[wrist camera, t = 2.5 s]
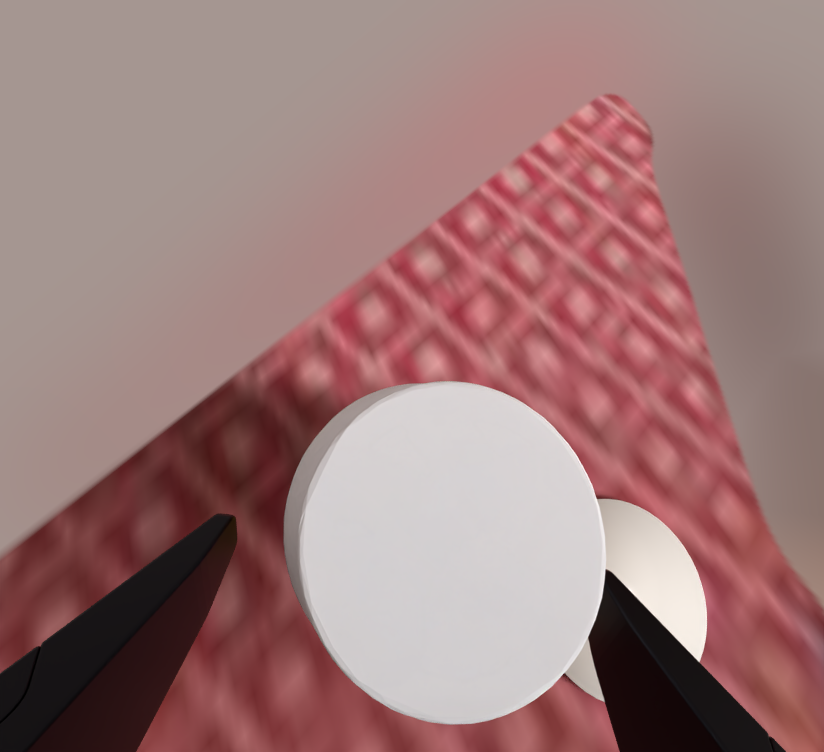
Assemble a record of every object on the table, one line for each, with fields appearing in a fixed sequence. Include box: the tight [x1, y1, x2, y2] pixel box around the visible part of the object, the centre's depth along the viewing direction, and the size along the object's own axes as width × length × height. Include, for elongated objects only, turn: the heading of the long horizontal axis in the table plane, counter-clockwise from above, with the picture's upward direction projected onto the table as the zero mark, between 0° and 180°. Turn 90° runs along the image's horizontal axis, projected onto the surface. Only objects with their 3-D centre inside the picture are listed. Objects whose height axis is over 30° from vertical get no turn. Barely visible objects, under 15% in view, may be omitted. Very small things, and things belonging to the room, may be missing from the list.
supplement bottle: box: [284, 381, 606, 724], centre depth 11 cm, size 7×7×13 cm
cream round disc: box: [565, 499, 707, 702], centre depth 17 cm, size 8×8×1 cm
